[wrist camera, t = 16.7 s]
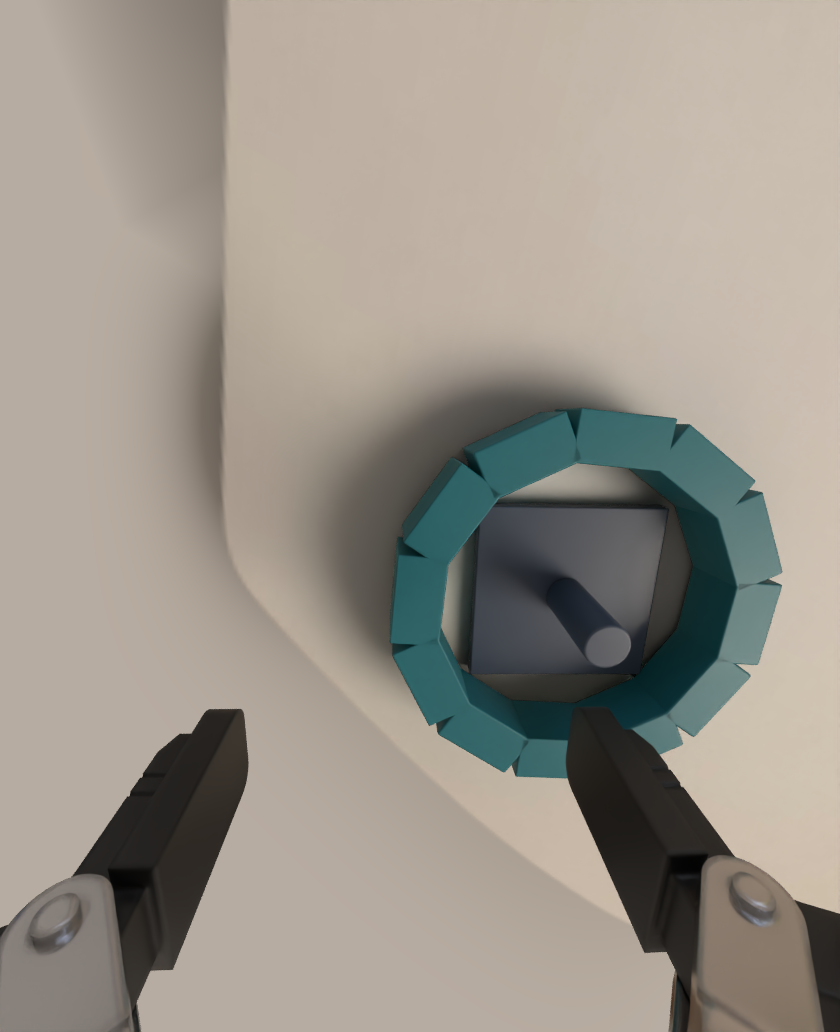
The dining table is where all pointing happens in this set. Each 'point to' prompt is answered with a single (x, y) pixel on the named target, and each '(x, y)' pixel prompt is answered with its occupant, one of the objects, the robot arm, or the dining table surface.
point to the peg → (564, 588)
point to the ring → (682, 658)
